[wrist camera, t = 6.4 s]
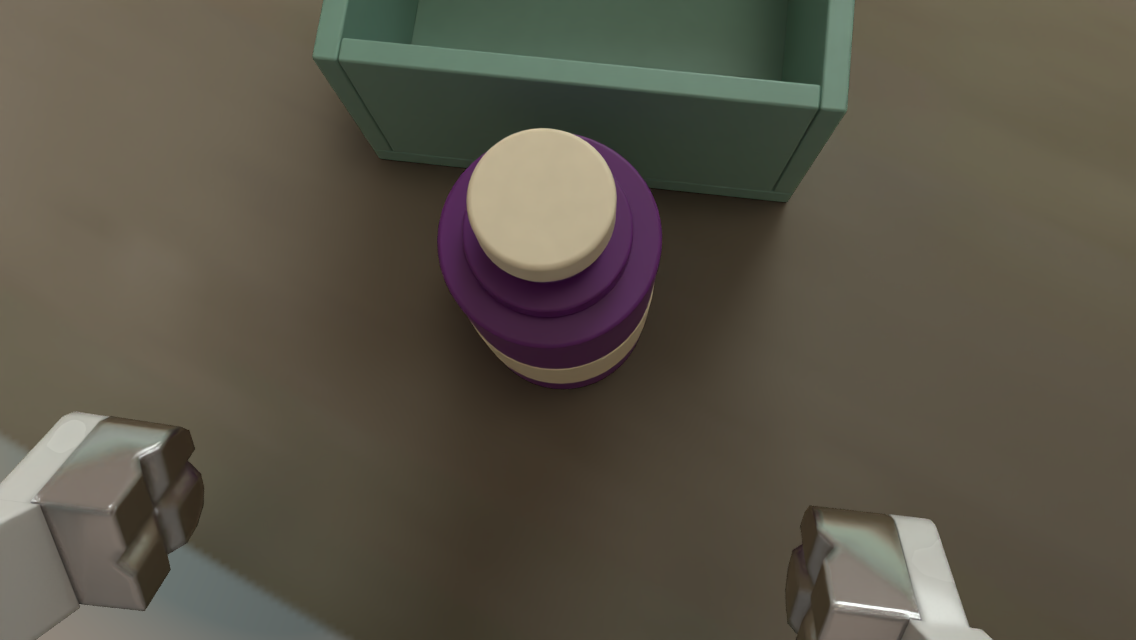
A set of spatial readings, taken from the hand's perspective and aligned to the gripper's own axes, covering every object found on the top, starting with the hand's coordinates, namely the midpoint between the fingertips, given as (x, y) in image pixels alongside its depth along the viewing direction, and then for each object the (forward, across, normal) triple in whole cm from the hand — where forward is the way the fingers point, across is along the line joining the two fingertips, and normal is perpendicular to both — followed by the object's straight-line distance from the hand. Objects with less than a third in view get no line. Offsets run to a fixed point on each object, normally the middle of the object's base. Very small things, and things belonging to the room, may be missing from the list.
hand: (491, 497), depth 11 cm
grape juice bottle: (+9, 0, +3) cm, 9 cm away
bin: (+14, 0, -2) cm, 14 cm away
